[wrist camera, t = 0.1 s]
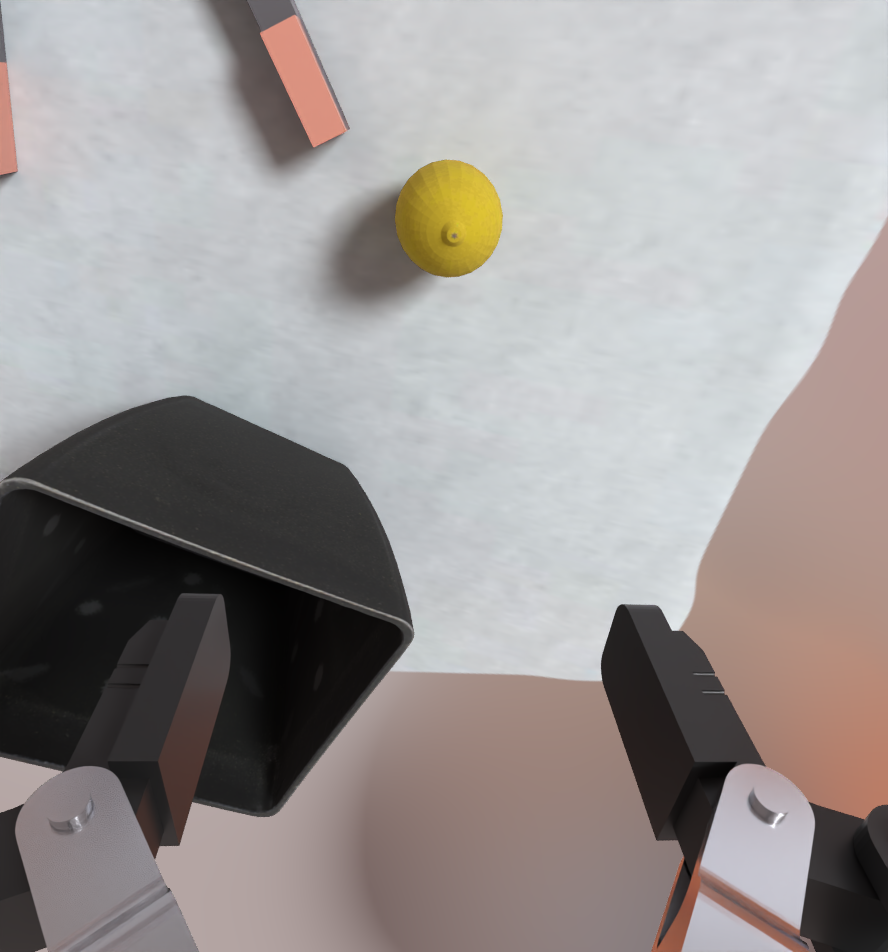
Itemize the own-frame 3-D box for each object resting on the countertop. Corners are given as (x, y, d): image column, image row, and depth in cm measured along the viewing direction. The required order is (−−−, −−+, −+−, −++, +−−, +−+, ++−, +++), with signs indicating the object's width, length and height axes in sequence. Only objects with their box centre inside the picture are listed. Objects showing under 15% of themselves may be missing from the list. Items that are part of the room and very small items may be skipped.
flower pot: (306, 627, 52) (271, 828, 38) (70, 544, 46) (-76, 746, 32) (416, 454, 44) (424, 629, 30) (146, 327, 38) (-3, 469, 24)
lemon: (382, 236, 36) (378, 270, 30) (416, 135, 34) (420, 147, 27) (469, 271, 38) (484, 311, 31) (508, 177, 35) (534, 199, 28)
